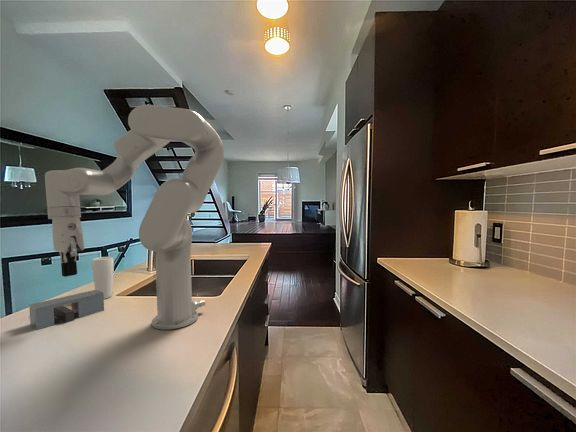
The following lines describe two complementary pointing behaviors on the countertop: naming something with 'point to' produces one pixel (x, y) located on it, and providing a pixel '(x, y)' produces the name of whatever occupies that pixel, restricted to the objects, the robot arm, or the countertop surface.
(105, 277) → the drinking glass
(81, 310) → the housing
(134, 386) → the countertop surface
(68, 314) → the plug
